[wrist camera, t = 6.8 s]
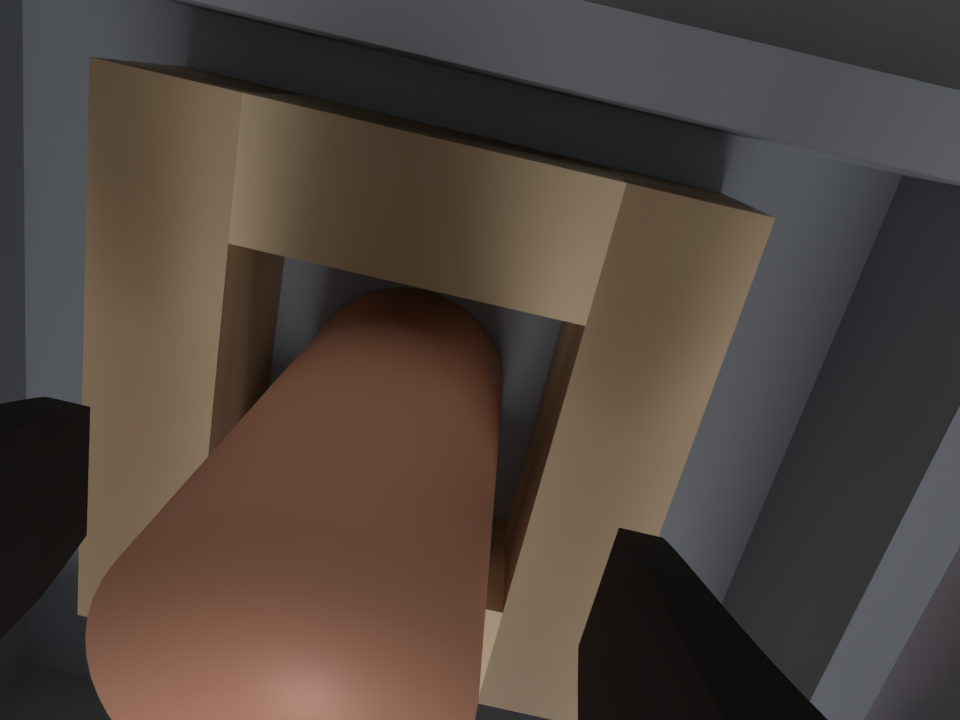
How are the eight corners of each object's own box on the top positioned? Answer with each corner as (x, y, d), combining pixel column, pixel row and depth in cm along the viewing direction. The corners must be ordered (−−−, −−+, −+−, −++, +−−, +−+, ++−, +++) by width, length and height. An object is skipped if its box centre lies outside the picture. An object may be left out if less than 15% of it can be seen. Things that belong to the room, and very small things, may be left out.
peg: (523, 312, 14) (521, 561, 6) (479, 485, 15) (435, 853, 8) (325, 267, 14) (89, 464, 6) (299, 444, 15) (81, 776, 8)
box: (965, 129, 13) (1181, 143, 9) (661, 814, 19) (700, 1017, 15) (-15, -104, 12) (-294, -211, 8) (4, 669, 19) (-149, 834, 14)
